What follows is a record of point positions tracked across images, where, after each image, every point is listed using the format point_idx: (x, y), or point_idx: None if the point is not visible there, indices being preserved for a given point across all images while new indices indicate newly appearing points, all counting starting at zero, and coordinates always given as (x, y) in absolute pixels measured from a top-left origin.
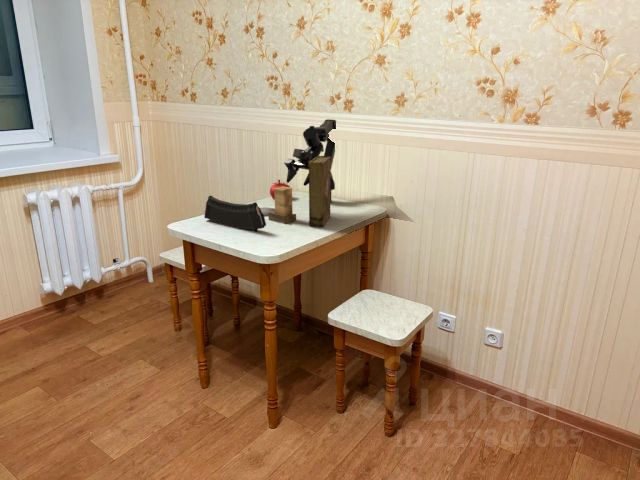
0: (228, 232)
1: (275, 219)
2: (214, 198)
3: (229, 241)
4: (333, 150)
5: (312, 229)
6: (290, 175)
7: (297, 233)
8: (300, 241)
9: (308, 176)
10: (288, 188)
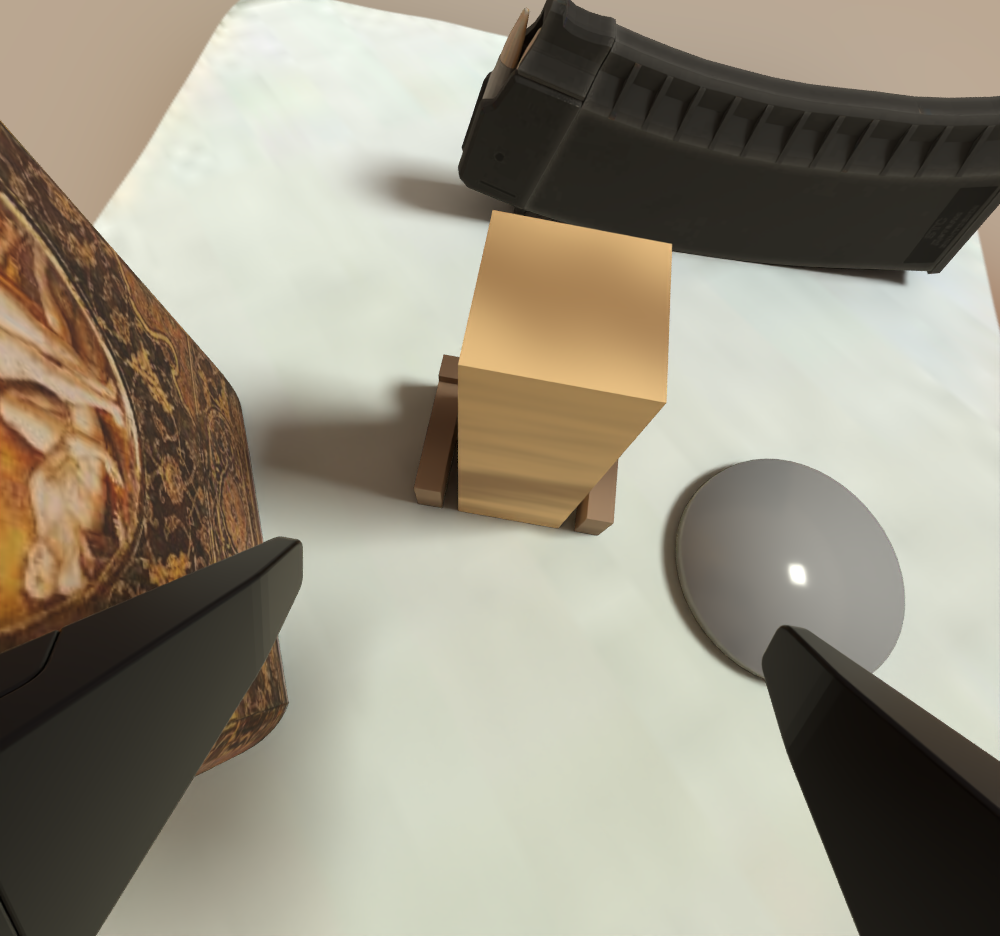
0: None
1: None
2: (998, 106)
3: None
4: None
5: None
6: (924, 827)
7: (266, 258)
8: (192, 162)
9: (51, 655)
10: (491, 318)
